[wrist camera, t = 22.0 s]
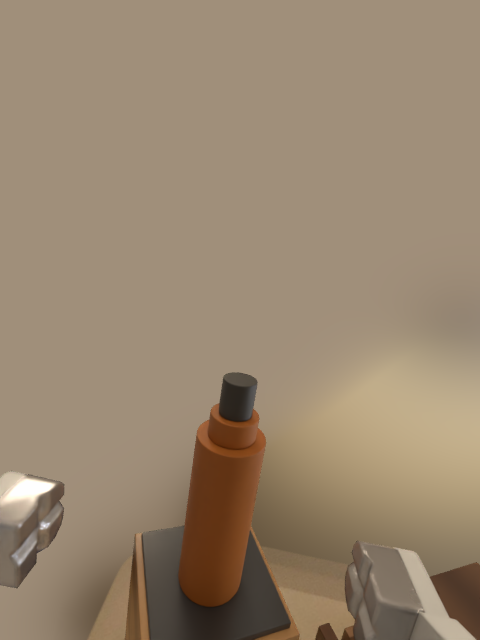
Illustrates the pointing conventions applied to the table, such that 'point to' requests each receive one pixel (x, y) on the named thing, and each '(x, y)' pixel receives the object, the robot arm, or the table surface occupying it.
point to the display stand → (193, 619)
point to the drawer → (327, 636)
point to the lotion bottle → (222, 495)
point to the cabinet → (461, 595)
